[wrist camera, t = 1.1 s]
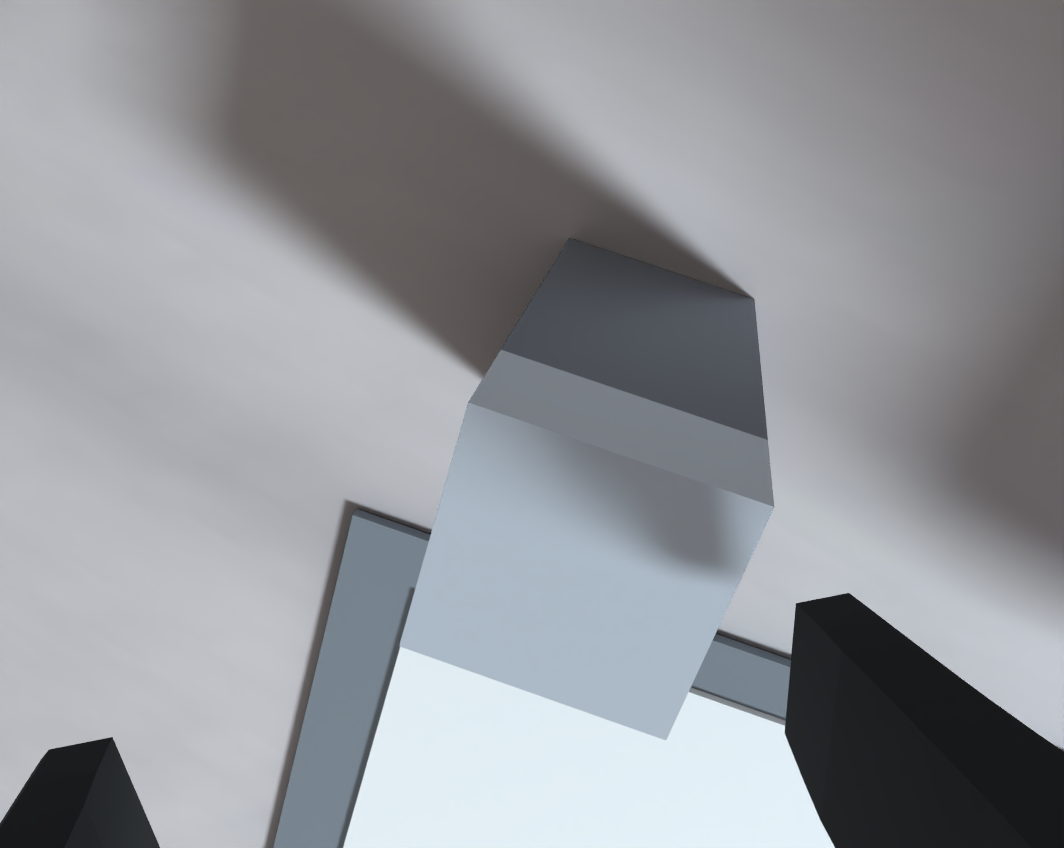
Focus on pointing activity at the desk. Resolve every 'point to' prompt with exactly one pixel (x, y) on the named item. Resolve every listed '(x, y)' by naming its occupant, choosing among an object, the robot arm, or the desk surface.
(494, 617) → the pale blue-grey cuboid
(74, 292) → the desk surface
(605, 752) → the desk mat
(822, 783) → the robot arm
